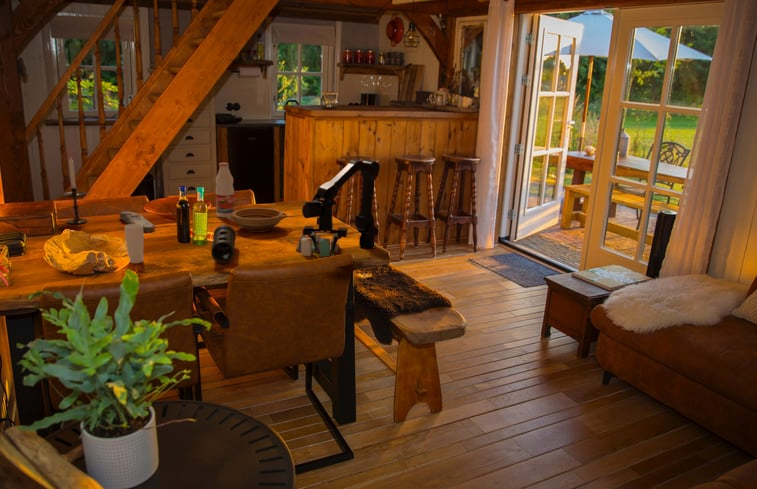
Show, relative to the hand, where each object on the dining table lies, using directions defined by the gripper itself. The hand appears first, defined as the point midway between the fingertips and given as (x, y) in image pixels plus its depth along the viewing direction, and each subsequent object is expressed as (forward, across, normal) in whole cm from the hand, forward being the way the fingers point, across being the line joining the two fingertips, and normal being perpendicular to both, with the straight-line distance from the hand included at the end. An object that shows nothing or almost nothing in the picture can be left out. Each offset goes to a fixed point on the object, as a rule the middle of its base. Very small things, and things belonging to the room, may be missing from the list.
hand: (324, 250), depth 260 cm
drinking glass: (+3, +74, +20) cm, 76 cm away
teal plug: (+2, 0, 0) cm, 2 cm away
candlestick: (+3, +125, -35) cm, 130 cm away
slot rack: (+2, +4, -9) cm, 10 cm away
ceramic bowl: (+2, +37, -38) cm, 53 cm away
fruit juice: (+2, +59, -61) cm, 85 cm away
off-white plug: (+2, +8, 0) cm, 8 cm away
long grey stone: (+3, +96, -37) cm, 103 cm away
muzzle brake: (+3, +42, +6) cm, 42 cm away
